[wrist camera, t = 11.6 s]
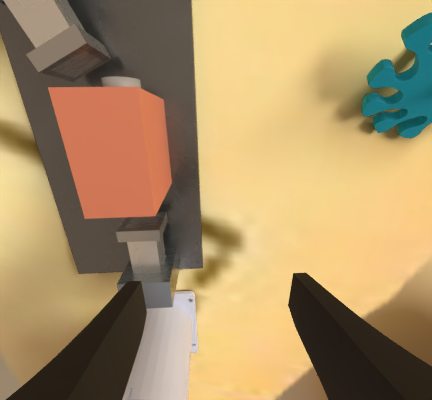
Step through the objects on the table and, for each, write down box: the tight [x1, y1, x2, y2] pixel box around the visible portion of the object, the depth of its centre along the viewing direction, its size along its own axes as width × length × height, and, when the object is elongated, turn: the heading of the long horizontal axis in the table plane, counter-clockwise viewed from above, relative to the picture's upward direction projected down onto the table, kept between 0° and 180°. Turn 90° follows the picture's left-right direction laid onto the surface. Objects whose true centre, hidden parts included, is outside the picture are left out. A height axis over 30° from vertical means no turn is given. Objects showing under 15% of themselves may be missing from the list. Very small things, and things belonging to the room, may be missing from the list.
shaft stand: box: [0, 0, 203, 309], centre depth 13 cm, size 24×12×6 cm, turn 1°
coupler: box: [48, 76, 172, 219], centre depth 12 cm, size 8×4×6 cm, turn 1°
